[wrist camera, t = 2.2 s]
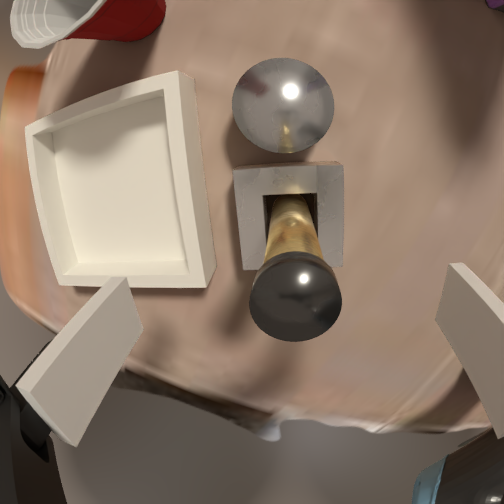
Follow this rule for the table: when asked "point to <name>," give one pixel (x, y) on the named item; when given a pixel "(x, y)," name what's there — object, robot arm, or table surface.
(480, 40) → the table surface
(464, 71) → the table surface
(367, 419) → the table surface
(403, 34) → the table surface
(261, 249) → the bracket
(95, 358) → the robot arm
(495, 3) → the cereal box
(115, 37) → the plastic cup
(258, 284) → the lock pin
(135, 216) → the tray
